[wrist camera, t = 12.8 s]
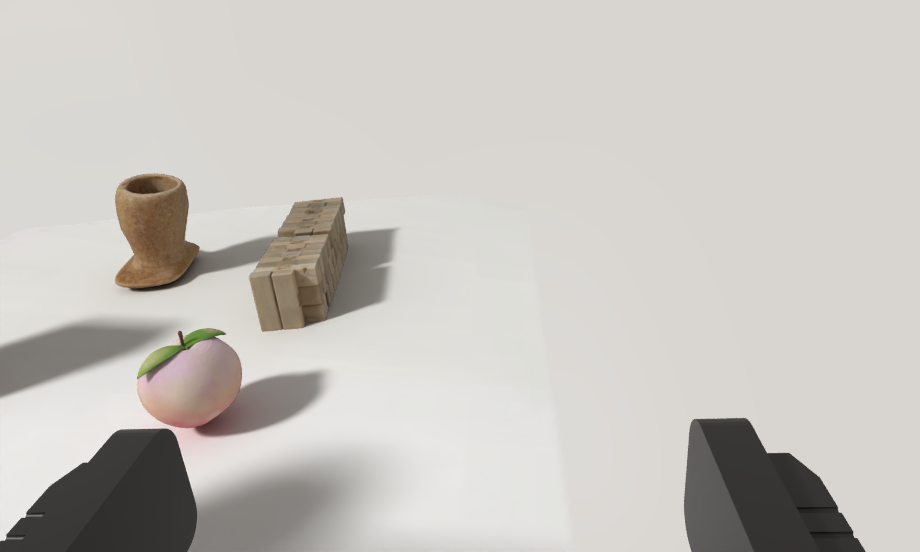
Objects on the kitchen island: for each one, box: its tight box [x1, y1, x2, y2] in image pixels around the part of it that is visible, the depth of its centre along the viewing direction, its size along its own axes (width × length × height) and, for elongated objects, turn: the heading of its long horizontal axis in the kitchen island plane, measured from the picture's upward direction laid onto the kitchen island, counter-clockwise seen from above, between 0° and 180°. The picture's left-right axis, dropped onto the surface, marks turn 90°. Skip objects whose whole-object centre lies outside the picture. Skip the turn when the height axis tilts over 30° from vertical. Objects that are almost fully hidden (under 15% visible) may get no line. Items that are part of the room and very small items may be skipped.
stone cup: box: [115, 174, 200, 288], centre depth 100 cm, size 15×12×15 cm
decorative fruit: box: [137, 328, 242, 428], centre depth 63 cm, size 9×8×10 cm
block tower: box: [249, 197, 348, 331], centre depth 94 cm, size 8×8×29 cm
